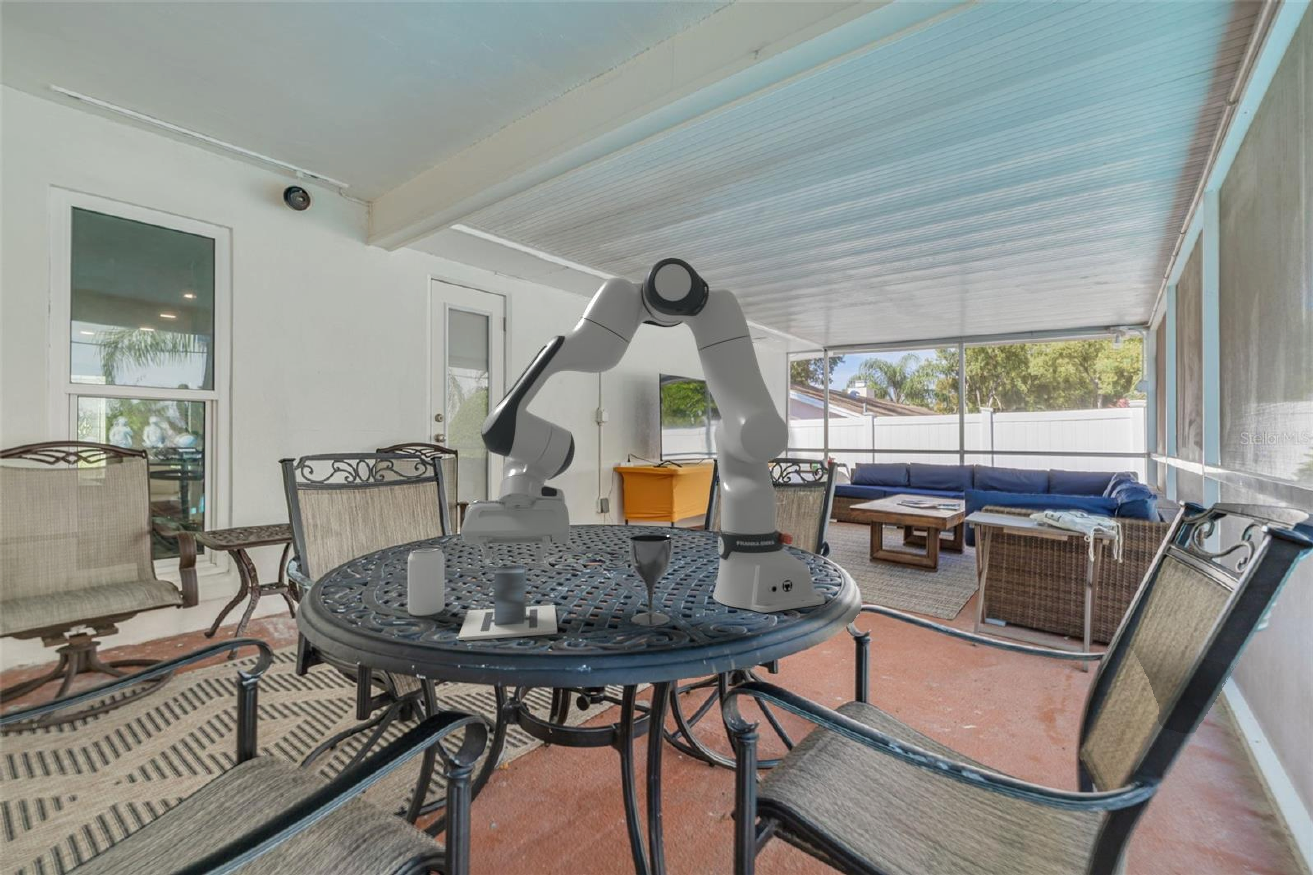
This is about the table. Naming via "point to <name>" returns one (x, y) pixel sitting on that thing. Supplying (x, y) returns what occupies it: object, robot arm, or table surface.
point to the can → (425, 581)
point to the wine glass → (650, 569)
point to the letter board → (483, 627)
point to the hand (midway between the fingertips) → (513, 560)
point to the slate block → (510, 595)
